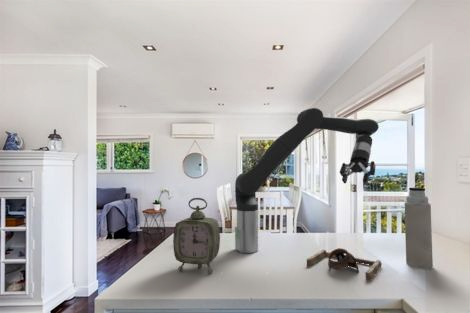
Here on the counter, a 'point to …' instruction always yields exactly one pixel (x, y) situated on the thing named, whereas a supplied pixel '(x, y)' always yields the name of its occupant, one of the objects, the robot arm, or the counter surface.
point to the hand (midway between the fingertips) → (354, 182)
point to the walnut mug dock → (369, 273)
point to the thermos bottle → (418, 230)
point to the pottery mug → (342, 260)
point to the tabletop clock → (196, 239)
